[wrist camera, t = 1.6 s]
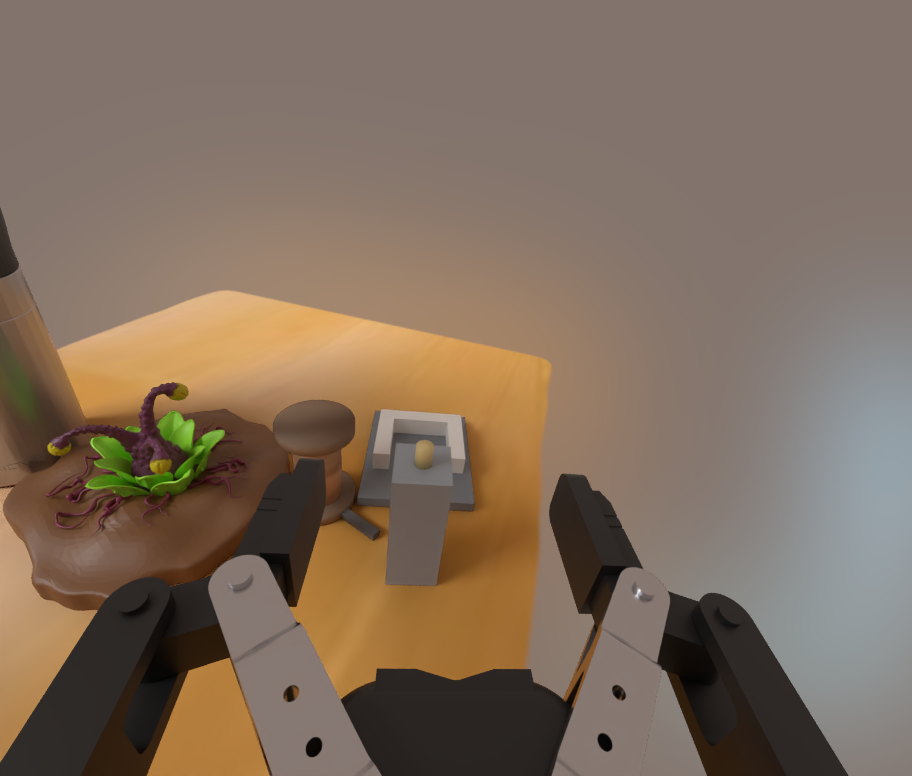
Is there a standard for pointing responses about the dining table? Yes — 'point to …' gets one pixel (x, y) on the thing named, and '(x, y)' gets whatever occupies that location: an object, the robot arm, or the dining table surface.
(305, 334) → the dining table surface
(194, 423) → the plant
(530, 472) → the dining table surface
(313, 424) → the bobbin
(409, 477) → the gray block with knob
